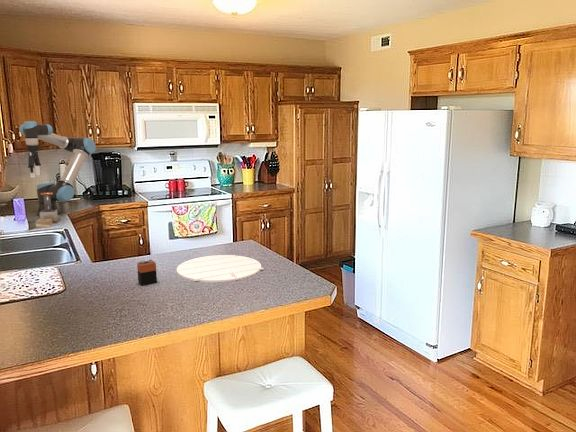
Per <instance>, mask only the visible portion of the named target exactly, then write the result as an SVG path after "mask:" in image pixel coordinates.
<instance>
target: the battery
mask: <svg viewBox="0 0 576 432" xmlns="http://www.w3.org/2000/svg"><path fill="white" fill-rule="evenodd" d="M157 275H158V273H157V263H156V261H154V260H153V259H148V260H147V261H146V260H139V262H137V280H138V281H137V282H138V284H139V285H140V286H142V287H143V286H148V285H152V284H156V283H158V279H157V278H158V276H157Z"/></svg>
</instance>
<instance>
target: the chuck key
mask: <svg viewBox="0 0 576 432" xmlns="http://www.w3.org/2000/svg"><path fill="white" fill-rule="evenodd" d="M41 195H44V205H45V211H46V212H48V211H52V208H51V198H50V195H53V193H52V192H51V193H41Z"/></svg>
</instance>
